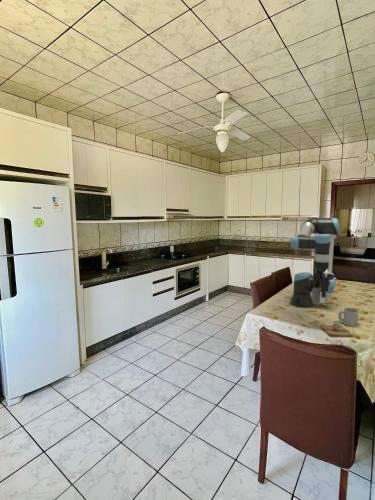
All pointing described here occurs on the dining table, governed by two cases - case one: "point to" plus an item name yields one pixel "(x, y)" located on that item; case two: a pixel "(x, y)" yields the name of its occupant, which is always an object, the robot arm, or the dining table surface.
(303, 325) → the dining table surface
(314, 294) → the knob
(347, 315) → the cup
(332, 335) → the shaft block
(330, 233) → the robot arm
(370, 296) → the dining table surface
